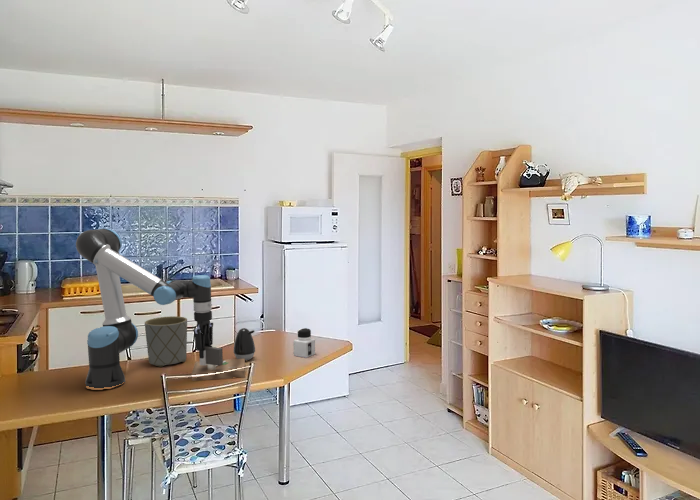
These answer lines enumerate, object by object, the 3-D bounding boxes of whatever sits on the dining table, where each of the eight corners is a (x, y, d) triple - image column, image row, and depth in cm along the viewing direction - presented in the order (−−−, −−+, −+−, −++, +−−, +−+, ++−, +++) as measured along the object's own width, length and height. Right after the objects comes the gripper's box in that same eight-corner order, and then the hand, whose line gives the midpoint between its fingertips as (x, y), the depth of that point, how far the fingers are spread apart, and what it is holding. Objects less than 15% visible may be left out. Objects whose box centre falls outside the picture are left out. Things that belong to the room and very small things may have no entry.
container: (315, 354, 264) (315, 328, 263) (306, 358, 258) (305, 331, 257) (303, 351, 269) (302, 326, 267) (293, 355, 262) (292, 329, 261)
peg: (218, 371, 229) (218, 349, 228) (199, 369, 233) (199, 347, 232) (234, 363, 240) (234, 343, 239) (216, 361, 244) (215, 341, 243)
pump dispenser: (251, 362, 251) (250, 331, 250) (230, 361, 253) (229, 330, 252) (258, 356, 261) (258, 326, 260) (238, 355, 263) (238, 325, 262)
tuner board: (191, 380, 226) (191, 373, 226) (195, 368, 244) (195, 361, 244) (244, 377, 231) (244, 369, 230) (244, 364, 248) (244, 358, 248)
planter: (155, 370, 241) (153, 327, 239) (140, 361, 255) (138, 320, 253) (195, 362, 253) (194, 320, 251) (178, 353, 268) (177, 314, 266)
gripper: (201, 315, 223) (203, 370, 225) (219, 307, 238) (221, 358, 241) (185, 314, 224) (187, 369, 227) (204, 306, 240) (206, 357, 242)
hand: (205, 363), depth 234 cm, fingers closed on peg, 3 cm apart
